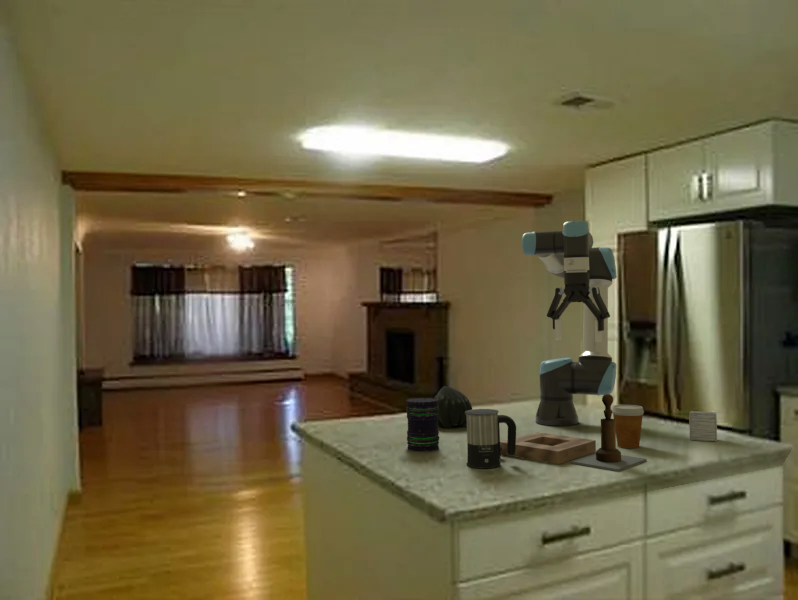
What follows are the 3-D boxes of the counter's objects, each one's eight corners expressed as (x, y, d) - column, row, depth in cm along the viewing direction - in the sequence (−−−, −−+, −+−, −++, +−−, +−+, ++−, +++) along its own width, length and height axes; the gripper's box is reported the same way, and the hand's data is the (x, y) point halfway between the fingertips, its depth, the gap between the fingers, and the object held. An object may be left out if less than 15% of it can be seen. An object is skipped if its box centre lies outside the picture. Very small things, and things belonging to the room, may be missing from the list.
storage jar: (433, 452, 210) (432, 402, 210) (402, 451, 213) (401, 401, 213) (443, 446, 219) (442, 398, 219) (413, 444, 223) (412, 397, 223)
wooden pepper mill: (618, 457, 197) (617, 392, 197) (623, 462, 191) (622, 395, 191) (594, 457, 198) (593, 392, 198) (598, 462, 191) (597, 395, 192)
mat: (570, 463, 194) (570, 461, 194) (600, 453, 205) (600, 451, 205) (618, 471, 184) (618, 469, 184) (646, 460, 195) (646, 458, 195)
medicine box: (717, 439, 223) (716, 412, 223) (717, 442, 219) (716, 414, 219) (690, 437, 226) (689, 410, 226) (689, 440, 222) (688, 412, 222)
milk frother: (475, 470, 187) (475, 414, 187) (449, 458, 202) (448, 406, 202) (522, 465, 193) (521, 410, 193) (493, 453, 207) (492, 403, 207)
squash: (478, 414, 246) (469, 379, 256) (436, 417, 243) (428, 382, 253) (471, 435, 256) (463, 401, 266) (431, 439, 254) (424, 404, 264)
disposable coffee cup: (644, 444, 218) (644, 405, 218) (644, 450, 209) (644, 409, 209) (612, 442, 221) (611, 404, 221) (611, 448, 212) (610, 408, 212)
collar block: (499, 453, 207) (499, 441, 207) (537, 443, 221) (537, 432, 221) (558, 464, 193) (558, 451, 193) (595, 452, 207) (595, 440, 207)
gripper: (534, 273, 222) (536, 340, 223) (608, 270, 205) (610, 343, 206) (547, 272, 228) (549, 338, 228) (620, 270, 211) (622, 341, 211)
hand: (578, 341), depth 217 cm, fingers open, 13 cm apart
